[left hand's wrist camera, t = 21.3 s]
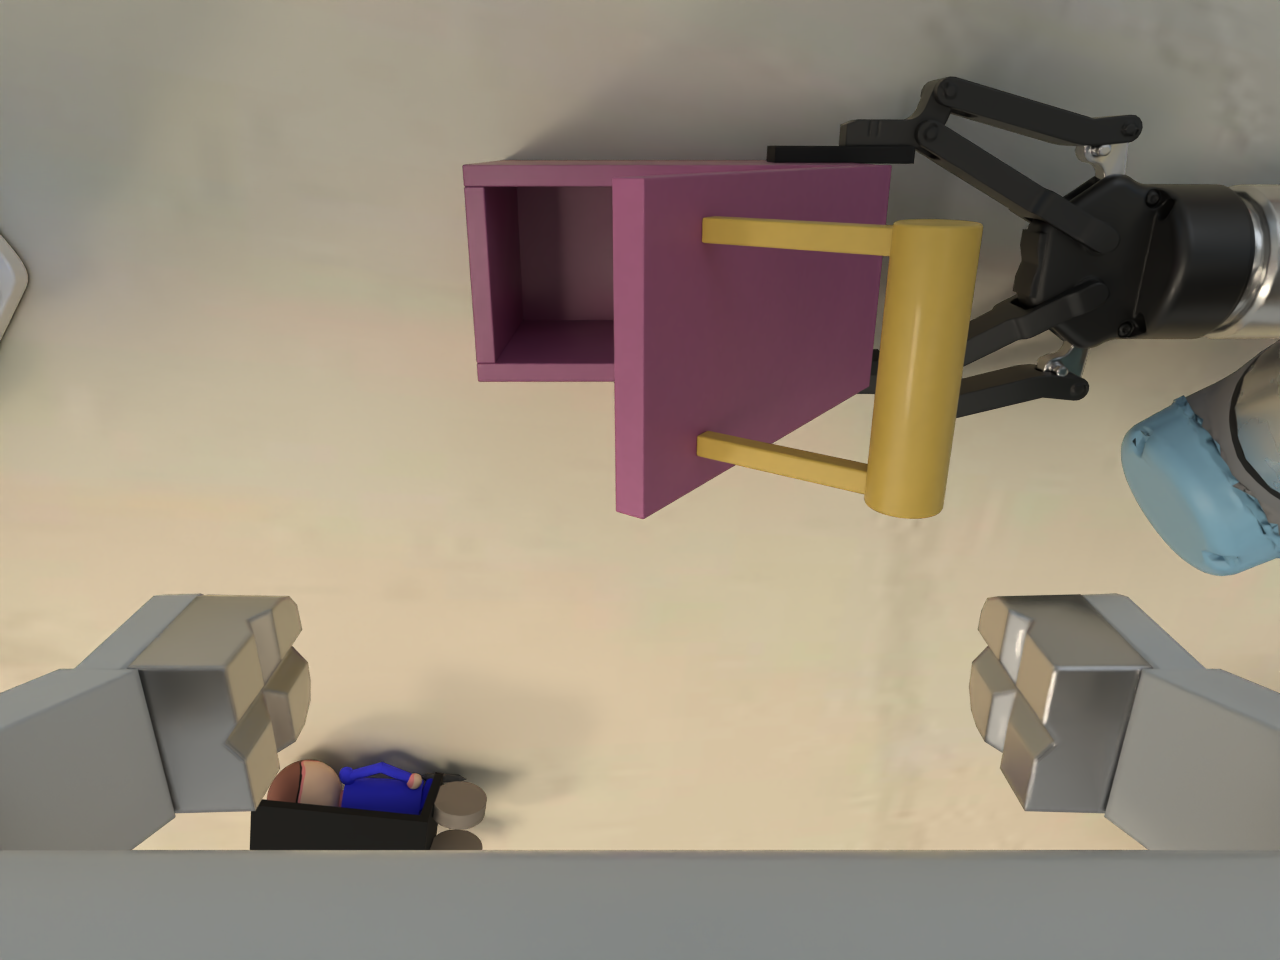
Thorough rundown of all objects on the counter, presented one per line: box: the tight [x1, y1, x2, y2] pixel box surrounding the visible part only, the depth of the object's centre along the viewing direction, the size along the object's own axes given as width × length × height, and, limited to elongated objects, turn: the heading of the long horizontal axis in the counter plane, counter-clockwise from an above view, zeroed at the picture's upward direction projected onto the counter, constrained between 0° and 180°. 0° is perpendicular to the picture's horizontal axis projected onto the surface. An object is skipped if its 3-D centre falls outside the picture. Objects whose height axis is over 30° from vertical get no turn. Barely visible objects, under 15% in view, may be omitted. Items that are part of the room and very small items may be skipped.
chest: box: [462, 160, 873, 382], centre depth 43 cm, size 18×10×11 cm, turn 90°
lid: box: [612, 165, 983, 519], centre depth 28 cm, size 18×10×9 cm
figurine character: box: [250, 760, 487, 850], centre depth 59 cm, size 7×8×15 cm
